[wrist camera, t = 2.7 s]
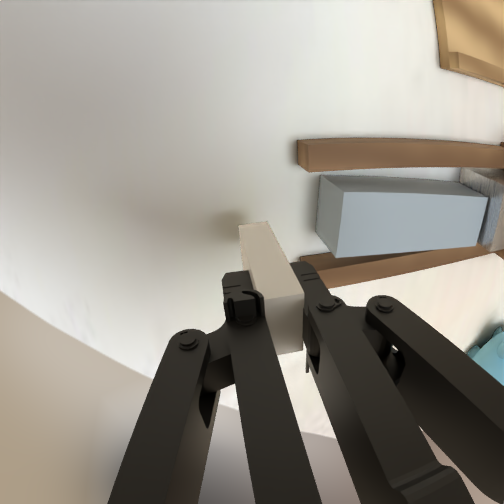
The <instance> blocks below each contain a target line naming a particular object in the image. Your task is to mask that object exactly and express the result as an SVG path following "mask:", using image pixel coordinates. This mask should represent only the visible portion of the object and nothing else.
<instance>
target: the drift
mask: <svg viewBox="0 0 504 504" xmlns="http://www.w3.org/2000/svg"><path fill="white" fill-rule="evenodd" d="M487 200H488V197H486V196H484V195H482V194H480V193H478V192H476V191H474V190H472V189H470V188H469V187H467V186H464V185H462V184H460V183H458V182H451V181H440V180H428V179H415V178H399V177H380V176H354V175H320V185H319V198H318V210H317V221H316V233H317V234H318V236H319V237H320V238H321V240H322V241H323V242H324V243H325V245H326V246H327V247H328V249H329V250H330V251H331V252H332V254H333V255H334V256H335V258H341V257H354V256H366V255H379V254H391V253H403V252H414V251H426V250H437V249H448V248H459V247H470V246H476V243H477V240H478V236H479V232H480V229H481V225H482V221H483V217H484V213H485V209H486V205H487Z"/></svg>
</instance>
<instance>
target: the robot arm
mask: <svg viewBox="0 0 504 504" xmlns="http://www.w3.org/2000/svg"><path fill="white" fill-rule="evenodd" d="M238 227H239V236H240V245H241V255H242V264H243V271H238V272H231V273H226V274H225V275H224V277H223V279H222V286H223V294H224V302H223V304H224V310H225V316H226V321H225V323H224V324H223V325H222V326H221V327H220V328H219V329H218V330H216V331H214V332H212V333H209V334H205V333H204V332H202V331H200V330H196V329H186V330H183V331H180V332H178V333H176V334H175V335H174V336H172V338H171V339H170V341H169V343H168V345H167V348H166V350H165V352H164V355H163V357H162V360H161V362H160V365H159V367H158V369H157V372H156V374H155V377H154V379H153V382H152V384H151V387H150V389H149V392H148V394H147V397H146V400H145V402H144V405H143V407H142V410H141V413H140V415H139V418H138V420H137V423H136V426H135V428H134V431H133V434H132V437H131V439H130V442H129V444H128V447H127V450H126V452H125V455H124V458H123V461H122V463H121V466H120V469H119V472H118V475H117V478H116V481H115V483H114V486H113V489H112V492H111V495H110V498H109V501H108V504H198V499H199V494H200V490H201V485H202V480H203V475H204V470H205V465H206V460H207V455H208V450H209V446H210V441H211V436H212V431H213V426H214V421H215V416H216V412H217V406H218V402H219V397H220V389H223V388H225V387H228V386H230V385H232V384H235V385H236V392H237V398H238V405H239V411H240V417H241V423H242V429H243V436H244V442H245V448H246V453H247V459H248V464H249V470H250V476H251V481H252V487H253V492H254V498H255V503H256V504H322V502H321V499H320V495H319V492H318V489H317V485H316V482H315V479H314V476H313V472H312V469H311V466H310V463H309V459H308V456H307V453H306V450H305V446H304V443H303V440H302V437H301V434H300V430H299V427H298V423H297V420H296V417H295V413H294V410H293V407H292V404H291V400H290V397H289V394H288V390H287V387H286V384H285V380H284V377H283V374H282V370H281V367H280V364H279V361H278V357H277V355H281V354H286V353H292V352H297V351H302V350H303V341H304V343H305V346H306V348H307V353H306V373H308V372H309V367H310V370H311V372H312V375H313V377H314V380H315V383H316V385H317V388H318V390H319V393H320V396H321V398H322V401H323V404H324V406H325V409H326V411H327V414H328V417H329V419H330V422H331V425H332V427H333V430H334V433H335V435H336V438H337V441H338V443H339V446H340V449H341V451H342V454H343V457H344V459H345V462H346V465H347V467H348V470H349V473H350V476H351V478H352V481H353V484H354V486H355V489H356V492H357V495H358V497H359V500H360V503H361V504H475V503H474V501H473V499H472V497H471V495H470V493H469V492H468V489H467V487H466V486H465V484H464V482H463V480H462V478H461V476H460V475H459V473H458V472H457V471H456V470H455V469H454V468H452V467H451V466H444V465H441V464H440V463H439V462H438V461H437V459H436V457H435V455H434V453H433V451H432V450H431V447H430V446H429V444H428V442H427V440H426V438H425V436H424V435H423V433H422V431H421V429H422V430H423V431H424V432H425V433H426V434H427V435H428V436H429V437H430V438H431V439H432V440H433V441H434V442H435V443H436V444H437V445H438V447H439V448H440V449H441V450H442V451H443V452H444V453H445V454H446V455H447V456H448V457H449V458H450V459H451V460H452V462H453V463H454V464H455V465H456V466H457V467H458V468H459V469H460V470H461V471H462V472H463V473H464V474H465V475H466V476H467V478H468V479H469V480H470V481H471V482H472V483H473V484H474V485H475V486H476V487H477V488H478V489H479V490H480V491H481V492H482V493H484V494H485V495H486V496H488V497H489V498H491V499H492V500H494V501H496V502H498V503H500V504H504V386H503V385H502V384H501V383H500V382H499V381H497V380H496V379H495V378H494V377H493V376H492V375H490V374H489V373H488V372H487V371H486V370H484V369H483V368H482V367H481V366H480V365H478V364H477V363H476V362H475V361H474V360H472V359H471V358H470V357H469V356H468V355H466V354H465V353H464V352H463V351H462V350H460V349H459V348H458V347H457V346H455V345H454V344H453V343H452V342H450V341H449V340H448V339H447V338H445V337H444V336H443V335H442V334H440V333H439V332H438V331H437V330H435V329H434V328H433V327H432V326H430V325H429V324H428V323H427V322H425V321H424V320H423V319H421V318H420V317H419V316H418V315H416V314H415V313H414V312H412V311H411V310H410V309H409V308H407V307H406V306H405V305H403V304H402V303H401V302H399V301H398V300H396V299H395V298H393V297H390V296H386V295H378V296H374V297H372V298H371V299H369V301H368V303H367V306H366V307H353V306H346V304H345V303H344V301H343V300H341V299H340V298H339V297H336V296H333V295H331V294H330V292H329V290H328V289H327V287H326V286H325V284H324V282H323V281H322V279H320V276H319V274H318V273H317V271H316V270H315V268H314V267H313V265H311V264H309V263H308V262H306V261H300V262H293V263H289V262H288V260H287V258H286V256H285V254H284V252H283V250H282V248H281V247H280V245H279V243H278V241H277V239H276V237H275V235H274V233H273V231H272V229H271V227H270V226H269V224H268V222H267V221H266V222H258V223H250V224H243V225H238ZM392 346H395V347H396V348H397V349H398V351H397V350H395V349H394V348H393V347H392ZM418 425H419V426H420V427H421V429H420V427H419V426H418Z"/></svg>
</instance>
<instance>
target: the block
mask: <svg viewBox="0 0 504 504" xmlns="http://www.w3.org/2000/svg"><path fill="white" fill-rule="evenodd" d="M459 183H460V184H462V185H464V186H467V187H469V188H470V189H472V190H474V191H476V192H478V193H480V194H482V195H484V196H486V197H488V200H487V205H486V209H485V213H484V217H483V221H482V225H481V229H480V232H479V236H478V240H477V243H478V244H479V245H481V246H482V247H484V248H485V249H486V250H488V251H489V252H493V251H497V250H502V249H504V170H503V169H492V168H471V167H461V171H460V179H459Z"/></svg>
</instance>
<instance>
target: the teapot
mask: <svg viewBox="0 0 504 504" xmlns="http://www.w3.org/2000/svg"><path fill="white" fill-rule="evenodd" d="M467 355H468V356H469V357H470V358H471V359H472V360H474V361H475V362H476V363H477V364H478V365H480V366H481V367H482V368H483V369H484V370H486V371H487V372H488V373H489V374H490V375H492V376H493V377H494V378H495V379H496V380H497V381H499V382H500V383H501V384H502V385H503V386H504V331H503V332H502V327H499V328H498V329H497V330H496V331H495V332H494V333H493V335H492V339H491V340H489V341H488V342H487V343H486V344H485V345H484V346H483V347H482V348H481V349H480V348H479V347H478V345H476V346H474V347H472V348H471V349H470V351H469V352H468V354H467Z"/></svg>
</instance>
